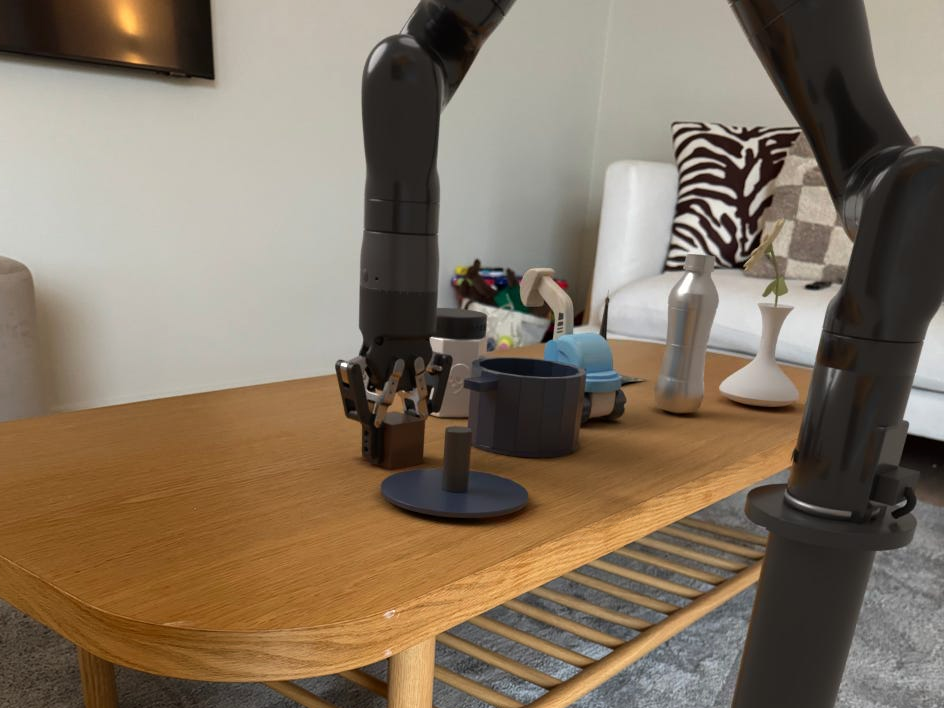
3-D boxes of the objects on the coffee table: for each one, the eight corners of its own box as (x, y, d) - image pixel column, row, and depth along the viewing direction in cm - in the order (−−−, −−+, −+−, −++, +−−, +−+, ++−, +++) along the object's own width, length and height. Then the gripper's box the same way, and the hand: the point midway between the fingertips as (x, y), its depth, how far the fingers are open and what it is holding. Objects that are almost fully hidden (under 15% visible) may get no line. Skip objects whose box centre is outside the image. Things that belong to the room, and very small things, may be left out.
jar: (421, 418, 117) (426, 316, 112) (407, 403, 124) (411, 306, 119) (491, 418, 120) (499, 318, 114) (472, 404, 127) (479, 308, 121)
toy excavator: (544, 397, 134) (557, 266, 127) (629, 424, 122) (650, 281, 115) (496, 401, 129) (507, 265, 122) (580, 430, 117) (598, 281, 110)
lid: (557, 506, 89) (565, 436, 86) (454, 535, 80) (459, 457, 77) (454, 471, 97) (458, 406, 94) (349, 493, 88) (350, 422, 85)
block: (423, 463, 99) (425, 419, 97) (390, 469, 96) (392, 425, 94) (394, 453, 102) (395, 410, 100) (361, 459, 99) (362, 415, 97)
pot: (612, 444, 112) (623, 370, 108) (510, 467, 100) (517, 384, 96) (531, 422, 119) (538, 352, 116) (426, 440, 107) (430, 363, 104)
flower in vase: (742, 392, 147) (775, 216, 137) (810, 407, 140) (852, 222, 130) (695, 401, 139) (727, 213, 128) (766, 417, 132) (806, 220, 121)
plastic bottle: (682, 420, 127) (709, 258, 118) (641, 409, 131) (664, 252, 122) (710, 415, 131) (738, 258, 122) (669, 405, 135) (694, 252, 126)
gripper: (367, 290, 84) (363, 478, 92) (479, 286, 94) (466, 457, 101) (314, 280, 89) (314, 460, 96) (426, 277, 98) (418, 441, 106)
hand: (392, 457), depth 99 cm, fingers closed on block, 4 cm apart
